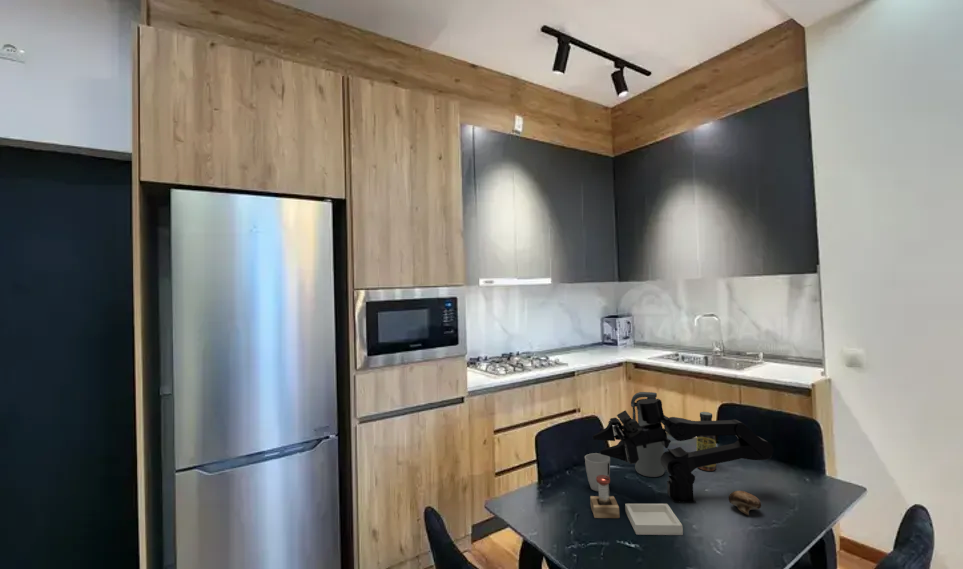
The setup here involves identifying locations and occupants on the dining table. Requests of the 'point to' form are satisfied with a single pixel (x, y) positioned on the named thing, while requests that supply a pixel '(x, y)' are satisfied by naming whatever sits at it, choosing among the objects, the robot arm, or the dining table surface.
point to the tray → (653, 519)
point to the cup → (596, 468)
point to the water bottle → (652, 454)
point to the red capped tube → (603, 489)
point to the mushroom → (744, 501)
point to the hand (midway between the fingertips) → (596, 444)
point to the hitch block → (604, 508)
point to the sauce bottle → (706, 440)
